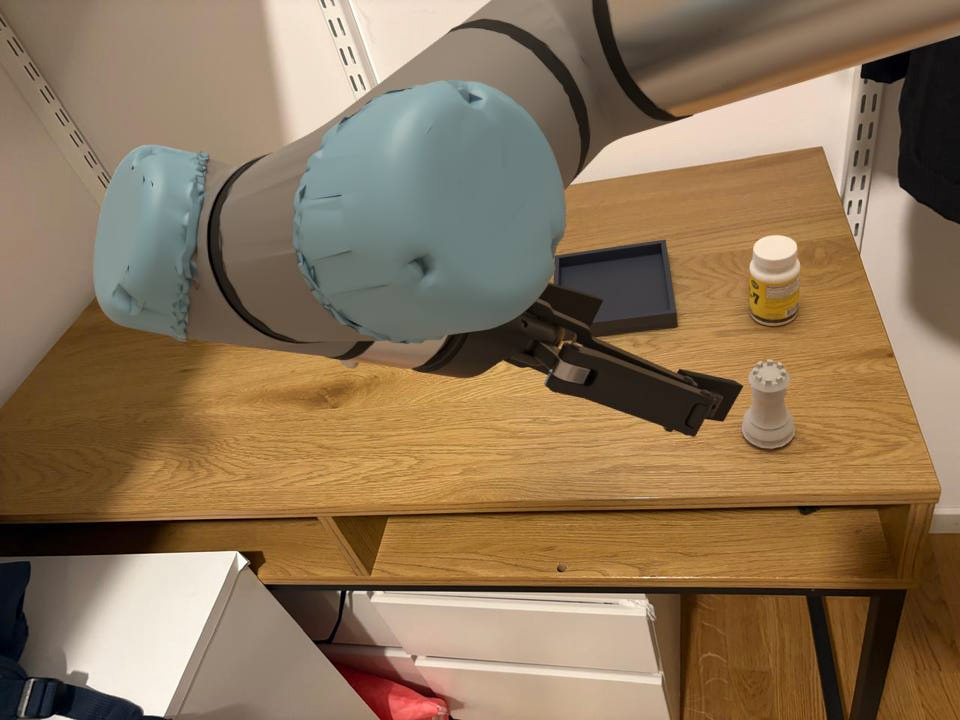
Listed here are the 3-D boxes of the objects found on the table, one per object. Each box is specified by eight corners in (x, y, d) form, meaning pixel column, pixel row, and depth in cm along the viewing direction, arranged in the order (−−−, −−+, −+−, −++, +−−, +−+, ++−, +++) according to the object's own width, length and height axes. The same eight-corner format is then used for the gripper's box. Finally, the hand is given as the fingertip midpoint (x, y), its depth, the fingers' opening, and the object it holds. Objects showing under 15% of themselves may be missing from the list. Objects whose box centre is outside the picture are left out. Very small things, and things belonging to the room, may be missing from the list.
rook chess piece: (788, 457, 64) (791, 394, 59) (735, 445, 66) (734, 383, 61) (800, 419, 67) (804, 356, 61) (749, 409, 69) (748, 347, 64)
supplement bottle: (746, 299, 80) (746, 235, 74) (794, 295, 78) (797, 229, 73) (752, 329, 76) (752, 264, 71) (801, 325, 75) (805, 258, 69)
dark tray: (677, 327, 79) (676, 312, 78) (555, 341, 82) (551, 327, 81) (666, 253, 88) (665, 239, 87) (557, 269, 92) (554, 255, 90)
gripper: (306, 274, 49) (529, 325, 63) (535, 500, 32) (771, 499, 46) (346, 166, 47) (567, 244, 61) (613, 344, 29) (835, 394, 44)
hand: (655, 353), depth 53 cm, fingers open, 13 cm apart
